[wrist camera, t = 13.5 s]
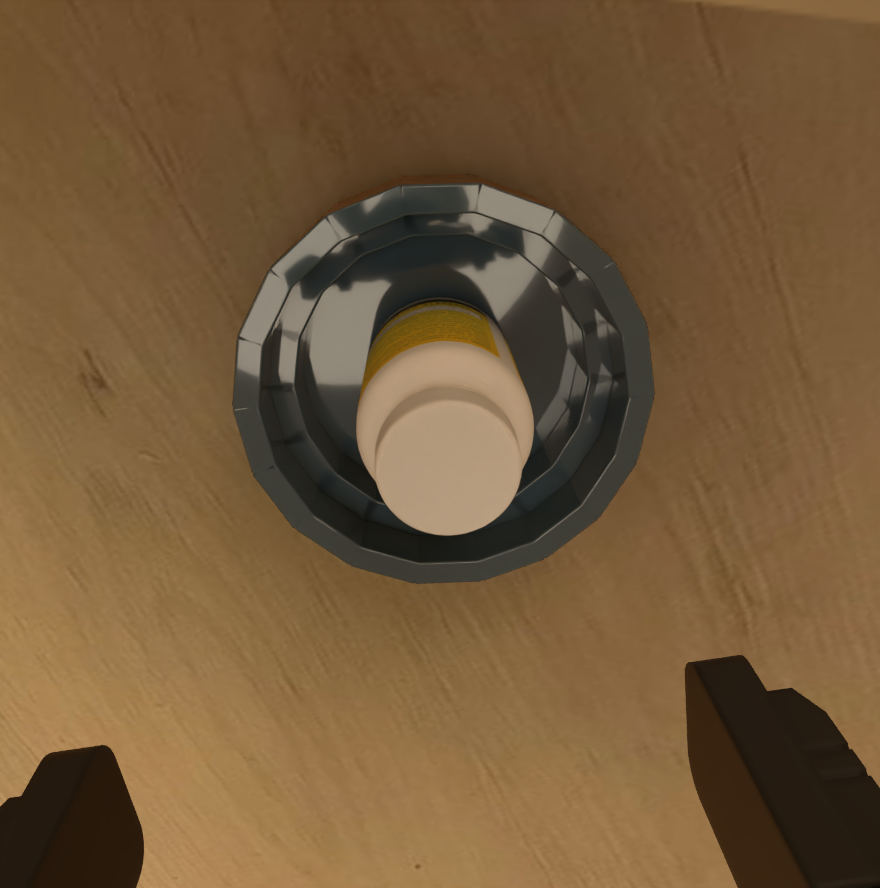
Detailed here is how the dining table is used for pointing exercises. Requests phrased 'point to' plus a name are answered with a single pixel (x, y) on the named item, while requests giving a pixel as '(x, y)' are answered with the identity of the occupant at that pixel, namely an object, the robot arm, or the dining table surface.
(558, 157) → the dining table surface
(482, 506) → the supplement bottle
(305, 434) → the bowl
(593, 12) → the dining table surface
